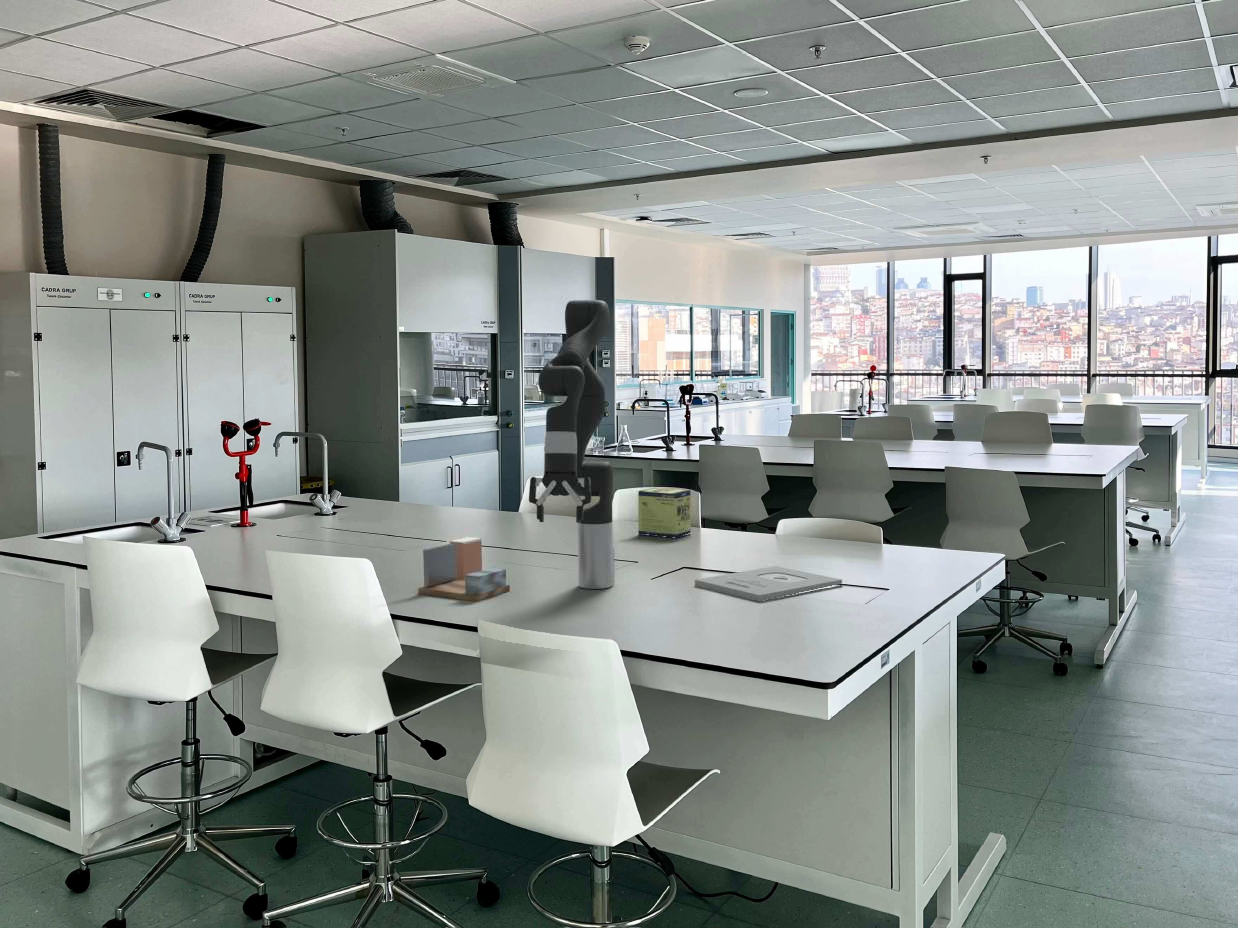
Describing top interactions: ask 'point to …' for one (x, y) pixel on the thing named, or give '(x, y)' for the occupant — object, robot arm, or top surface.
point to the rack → (471, 586)
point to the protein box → (664, 512)
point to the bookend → (439, 564)
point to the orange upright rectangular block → (468, 556)
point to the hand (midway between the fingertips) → (559, 522)
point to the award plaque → (766, 583)
